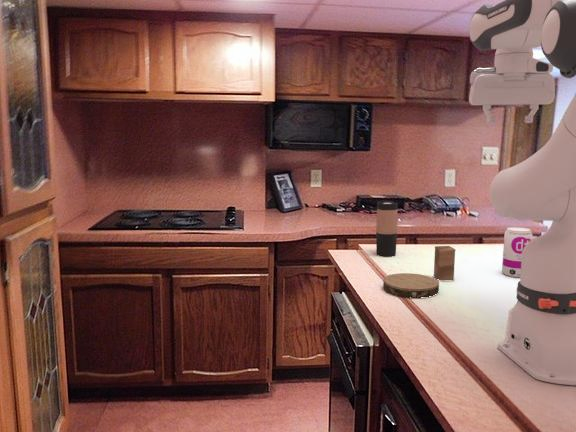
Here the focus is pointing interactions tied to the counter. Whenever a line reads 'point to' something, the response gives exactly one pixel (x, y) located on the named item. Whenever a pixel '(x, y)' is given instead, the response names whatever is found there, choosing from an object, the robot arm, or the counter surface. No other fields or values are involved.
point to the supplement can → (514, 249)
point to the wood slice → (410, 285)
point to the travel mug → (386, 228)
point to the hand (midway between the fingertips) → (509, 123)
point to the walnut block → (444, 262)
